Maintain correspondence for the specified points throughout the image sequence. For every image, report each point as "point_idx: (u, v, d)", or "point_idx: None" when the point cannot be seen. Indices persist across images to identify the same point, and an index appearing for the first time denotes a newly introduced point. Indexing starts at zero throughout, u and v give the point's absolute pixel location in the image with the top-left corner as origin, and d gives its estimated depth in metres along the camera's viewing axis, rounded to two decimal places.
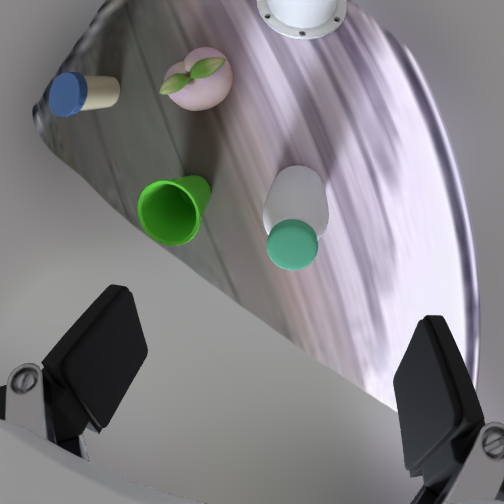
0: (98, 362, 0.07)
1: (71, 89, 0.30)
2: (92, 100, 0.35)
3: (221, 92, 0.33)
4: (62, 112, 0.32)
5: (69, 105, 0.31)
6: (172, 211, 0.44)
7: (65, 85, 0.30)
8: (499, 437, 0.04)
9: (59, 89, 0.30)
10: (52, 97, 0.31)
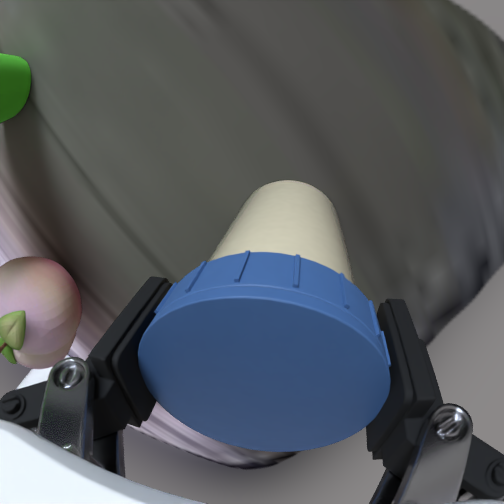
0: None
1: (205, 409, 0.08)
2: None
3: None
4: (230, 323, 0.06)
5: (182, 355, 0.07)
6: None
7: (256, 425, 0.08)
8: (454, 418, 0.05)
9: (298, 417, 0.07)
10: (359, 389, 0.06)
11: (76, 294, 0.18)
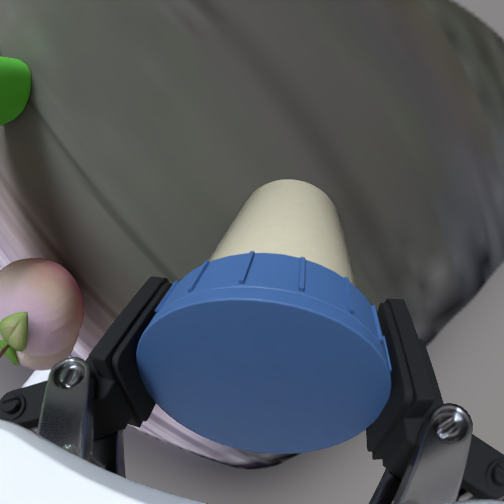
0: None
1: (312, 425, 0.07)
2: None
3: None
4: (192, 421, 0.08)
5: (245, 438, 0.08)
6: None
7: (309, 395, 0.06)
8: (454, 418, 0.05)
9: (260, 373, 0.06)
10: (177, 346, 0.06)
11: (78, 295, 0.19)
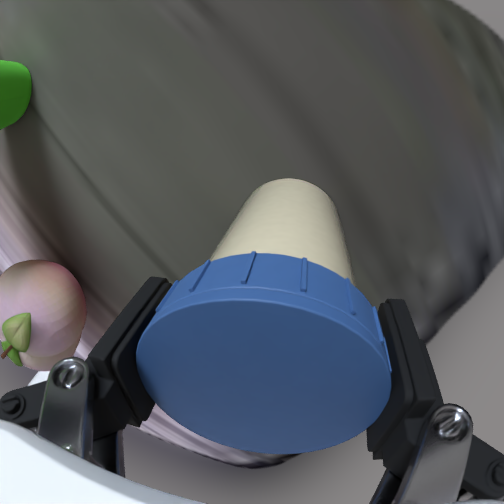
0: None
1: (260, 358, 0.06)
2: None
3: None
4: (347, 426, 0.07)
5: (349, 392, 0.06)
6: None
7: (212, 379, 0.07)
8: (454, 418, 0.04)
9: (216, 408, 0.07)
10: (237, 440, 0.08)
11: (81, 296, 0.19)
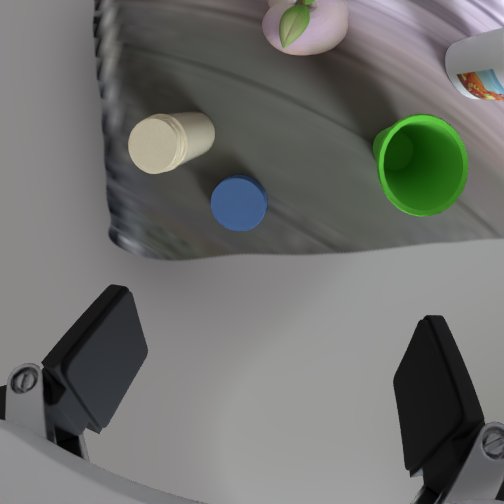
0: (98, 362, 0.07)
1: (240, 191, 0.34)
2: (194, 134, 0.27)
3: (345, 4, 0.19)
4: (256, 217, 0.36)
5: (256, 203, 0.35)
6: (400, 182, 0.28)
7: (229, 197, 0.35)
8: (499, 437, 0.04)
9: (227, 207, 0.36)
10: (229, 223, 0.37)
11: None
